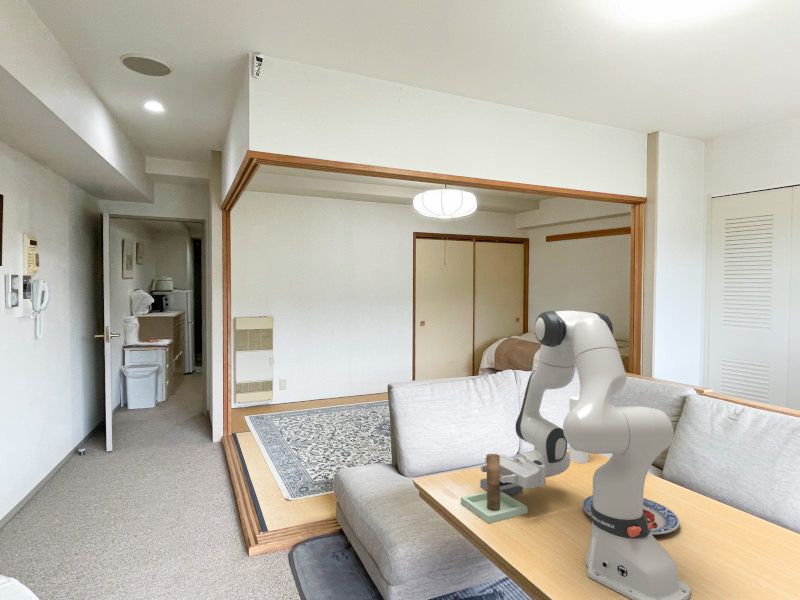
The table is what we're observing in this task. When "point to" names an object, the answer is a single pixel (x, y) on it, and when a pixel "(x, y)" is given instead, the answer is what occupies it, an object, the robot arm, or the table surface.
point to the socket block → (504, 487)
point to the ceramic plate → (650, 515)
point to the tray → (479, 507)
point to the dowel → (493, 482)
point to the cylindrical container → (574, 455)
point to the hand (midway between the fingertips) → (491, 474)
